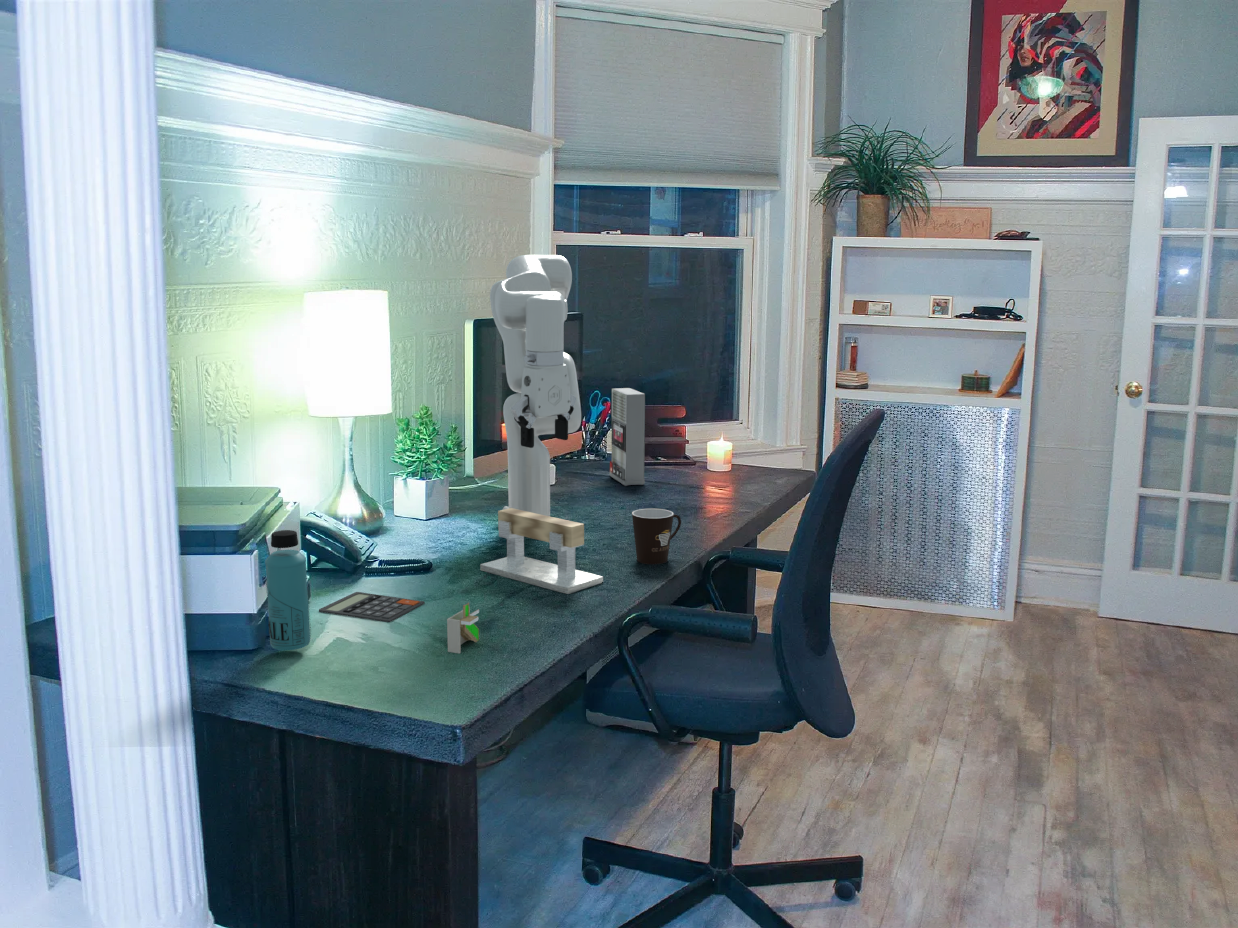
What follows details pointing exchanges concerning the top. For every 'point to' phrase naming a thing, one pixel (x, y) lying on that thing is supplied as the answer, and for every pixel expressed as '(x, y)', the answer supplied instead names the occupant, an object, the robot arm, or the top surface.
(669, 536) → the coffee mug
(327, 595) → the top surface
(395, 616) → the calculator
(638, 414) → the cassette tape recorder
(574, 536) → the rail
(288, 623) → the beverage bottle
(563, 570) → the bracket stand
